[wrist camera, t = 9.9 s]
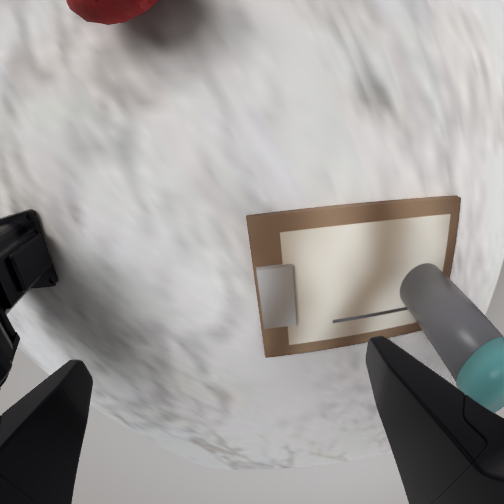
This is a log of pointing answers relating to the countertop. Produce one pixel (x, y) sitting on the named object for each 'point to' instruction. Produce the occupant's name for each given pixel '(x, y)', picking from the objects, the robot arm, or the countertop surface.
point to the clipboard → (344, 269)
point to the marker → (457, 333)
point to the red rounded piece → (109, 9)
